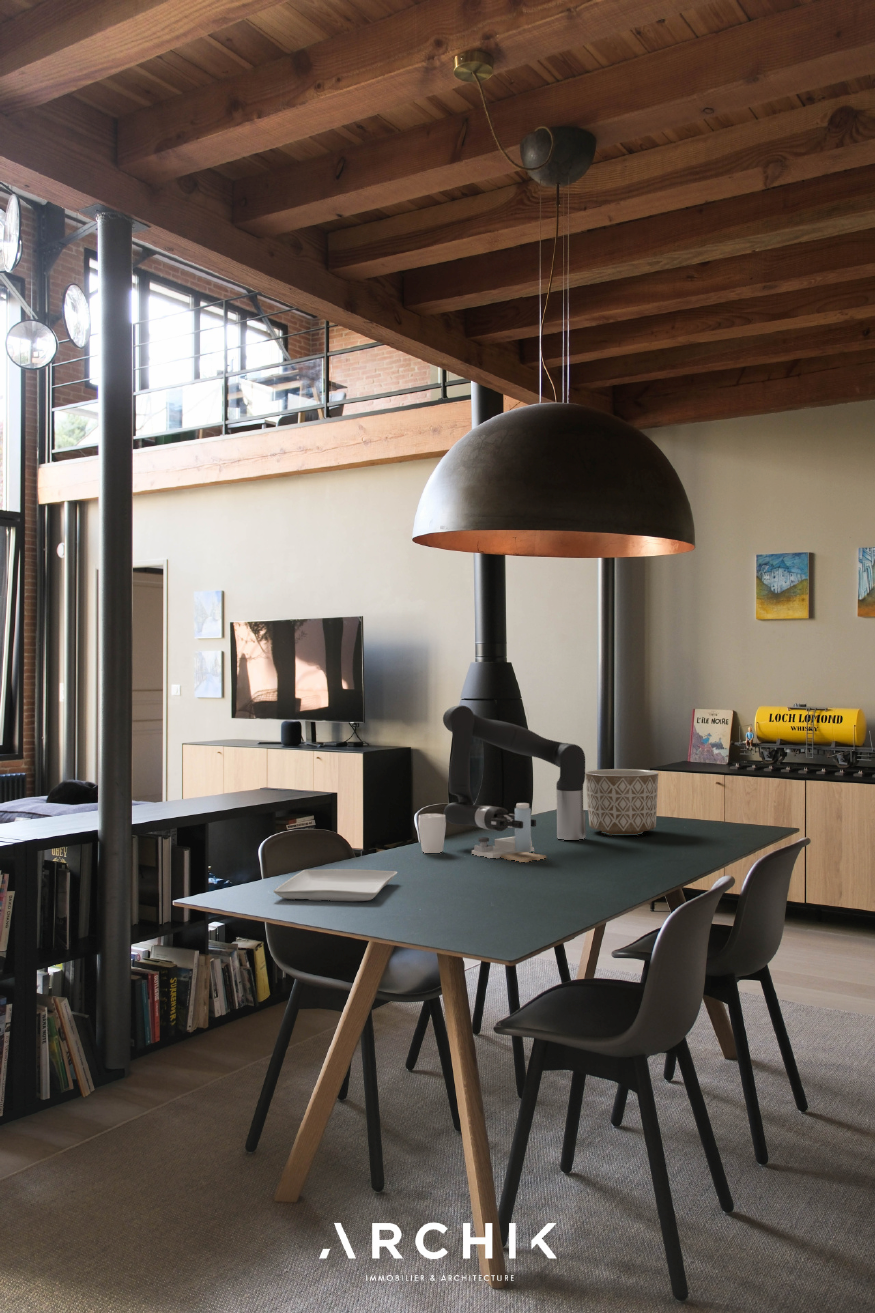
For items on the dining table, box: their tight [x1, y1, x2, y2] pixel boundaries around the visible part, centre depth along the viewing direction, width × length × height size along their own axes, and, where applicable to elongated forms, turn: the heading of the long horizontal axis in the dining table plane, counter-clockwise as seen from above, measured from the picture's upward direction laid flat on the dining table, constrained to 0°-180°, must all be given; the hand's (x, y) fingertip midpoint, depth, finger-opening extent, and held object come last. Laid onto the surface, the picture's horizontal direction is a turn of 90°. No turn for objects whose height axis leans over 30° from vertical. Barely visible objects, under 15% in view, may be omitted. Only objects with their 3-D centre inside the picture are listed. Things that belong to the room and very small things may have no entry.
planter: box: [585, 768, 659, 834], centre depth 357 cm, size 26×26×22 cm
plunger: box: [477, 836, 490, 847], centre depth 315 cm, size 3×3×4 cm
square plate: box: [273, 868, 398, 902], centre depth 262 cm, size 27×27×4 cm
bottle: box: [514, 802, 532, 852], centre depth 308 cm, size 5×5×14 cm
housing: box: [471, 836, 535, 859], centre depth 317 cm, size 18×10×4 cm, turn 129°
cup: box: [417, 813, 447, 854], centre depth 321 cm, size 9×9×12 cm
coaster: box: [500, 852, 547, 863], centre depth 308 cm, size 10×10×1 cm
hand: (528, 824), depth 306 cm, fingers closed on bottle, 5 cm apart
